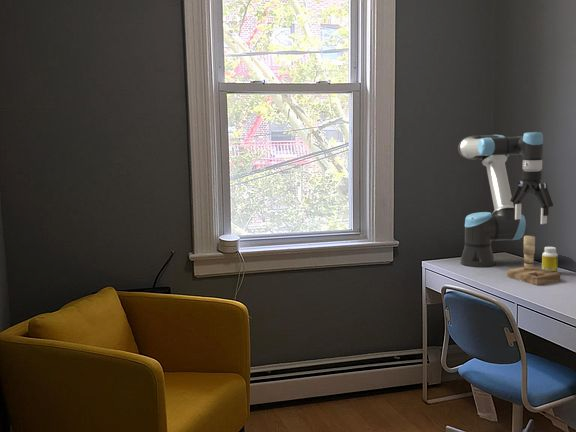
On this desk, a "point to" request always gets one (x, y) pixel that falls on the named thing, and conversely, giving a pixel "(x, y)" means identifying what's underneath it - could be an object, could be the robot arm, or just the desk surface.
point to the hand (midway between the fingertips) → (530, 221)
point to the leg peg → (529, 252)
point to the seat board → (534, 275)
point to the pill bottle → (550, 259)
